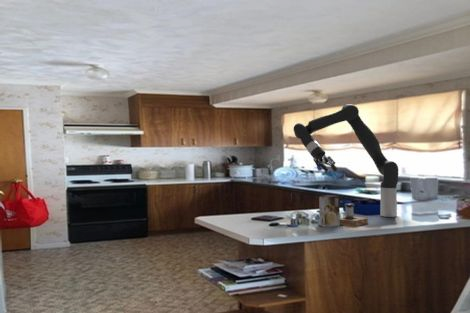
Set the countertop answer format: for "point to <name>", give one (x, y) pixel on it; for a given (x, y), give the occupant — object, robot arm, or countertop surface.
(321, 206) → the coffee box
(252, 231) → the countertop surface
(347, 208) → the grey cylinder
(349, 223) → the socket
